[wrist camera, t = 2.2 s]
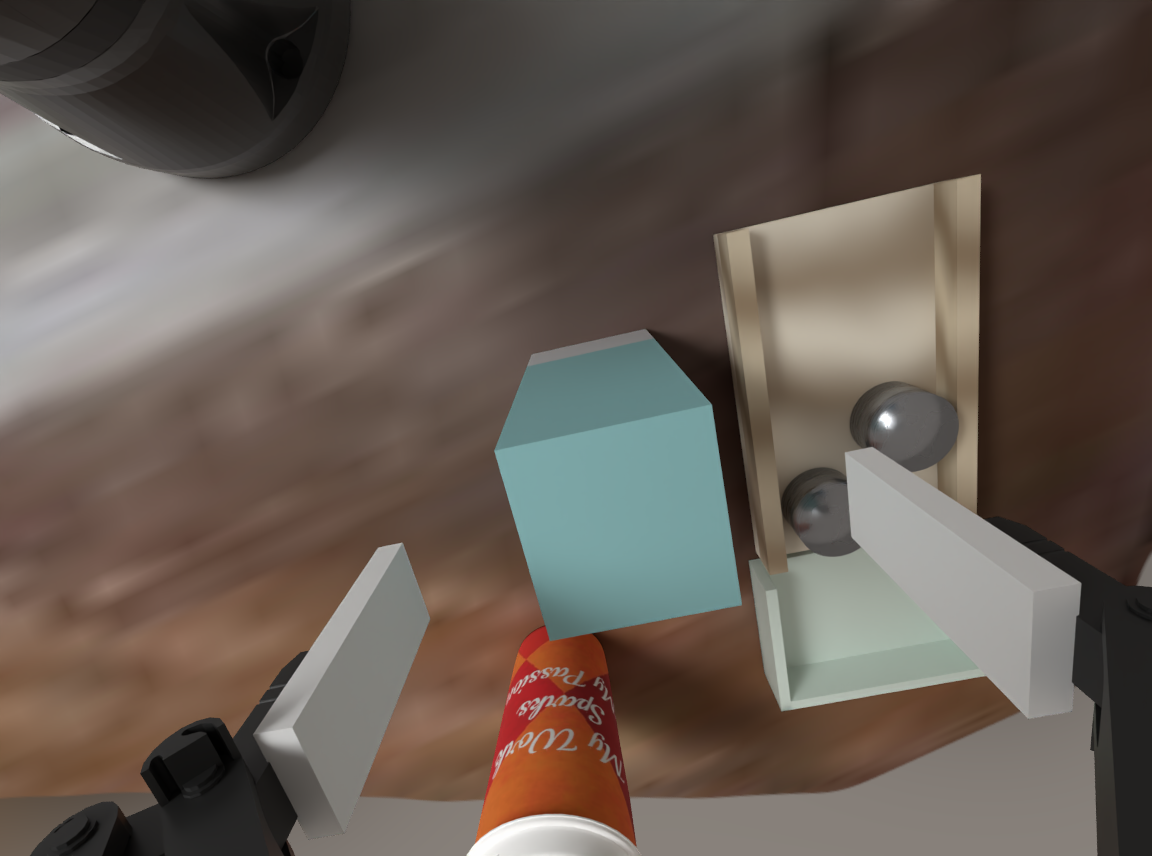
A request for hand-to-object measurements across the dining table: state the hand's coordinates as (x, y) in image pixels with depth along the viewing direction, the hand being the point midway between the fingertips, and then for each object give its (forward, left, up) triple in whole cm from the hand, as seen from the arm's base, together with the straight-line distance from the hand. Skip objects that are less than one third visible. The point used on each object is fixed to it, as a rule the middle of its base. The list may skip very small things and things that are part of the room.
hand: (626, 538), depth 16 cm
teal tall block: (0, 0, -14) cm, 14 cm away
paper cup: (+16, -6, -14) cm, 22 cm away
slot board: (+2, +12, -14) cm, 19 cm away
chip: (+8, +10, -13) cm, 18 cm away
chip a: (+4, +14, -13) cm, 20 cm away
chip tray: (+15, +12, -14) cm, 24 cm away
